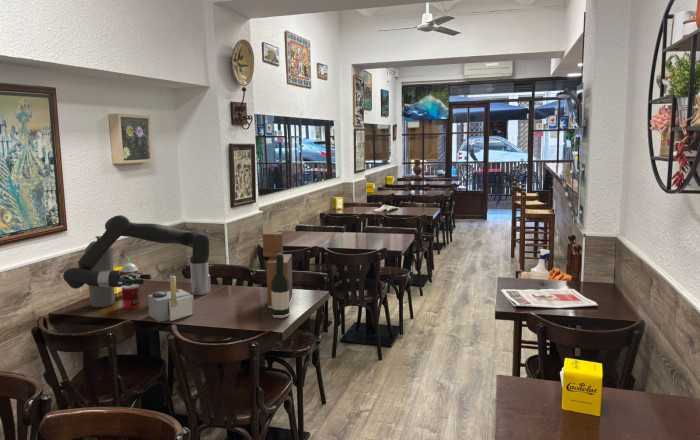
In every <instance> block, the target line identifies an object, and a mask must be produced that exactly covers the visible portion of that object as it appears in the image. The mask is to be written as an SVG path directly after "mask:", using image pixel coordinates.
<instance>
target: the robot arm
mask: <svg viewBox="0 0 700 440" xmlns="http://www.w3.org/2000/svg"><path fill="white" fill-rule="evenodd" d="M104 228H105V231H104V233H102V235H100V236H101V237H100V238H99V239H98V240H97V239H96V240H95V241H96V242H95V243H94V244H93V245H92V246H91V247H90V248H89V249H88V250H87V251H86V252H85V251H84V253H83V255H82V256H81V257H80V258H79V260H78V262H77V265H78V267H71V268H68V269H66V270H65V271H64V272H63V275H62V277H63V280H64V281H65V282H66V283H67V284H68V286H69V287H70V288H72V289H74V290H75V289H81V288H82V287H83V286H84V285H86V286H88V287H89V286H101V287H114V288H122V286H132V285H135V284H138V285H143V284H144V283H145V281H144V280H151V279H152V274H150V273H149V274H146V273H145V274H144V273H143V272H138V273H129V274H127V275H125V274H124V273H123V271H121V270H114V271H113V270H106V271H92V269H93V268H94V267H95V265H96V264H97V263H98V262H99V260H100V259H101V258H102V257H103V255H104V254H105V253H106V251H107V250H108V249H109V248H110V247H111V246H113V245H114V243H116V241H117V240H118V239H119V238H121V237H126V238H135V239H139V240H144V241H147V242H148V241H149V242H153V243H160V244H167V245H169V244H175V245H177V244H178V245H182V246H185V247H189V248H192V255H191V257H189V258H190V259H189V260H190V262H189V263H190V264H189V265H190V284H191V285H190V287H191V291H190V292H191V295H193V296H203V295H207V294H209V293H211V291H212V289H211V287H212V286H211V274H209V273H210V271H209V257H210V239H209V236H208V235H207V234H206V233H202V232H199V231H190V230H189V231H188V230H183V229H182V230H181V229H177V228H175V227H172V226H168V225H164V224H159V223H147V222H146V223H143V222H142V223H139V222H138V223H137V222H131V221H130V220H129V219H128V217H127V216H125V215H121V214H120V215H115V216H112V217H111V218H109V219H108V220H107V221H105V224H104Z"/></svg>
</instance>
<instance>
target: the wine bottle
mask: <svg viewBox="0 0 700 440" xmlns="http://www.w3.org/2000/svg"><path fill="white" fill-rule="evenodd" d="M271 297H272V308H271V315H272V314H273V315H285V314H288V313H289V314H290V305H289V280H288V279H287V277H286V276H285V274H284V257H283V255H282V253H278V254H277V256H276V275H275V277H274V278H273V280H272V282H271Z"/></svg>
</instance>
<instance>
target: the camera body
mask: <svg viewBox="0 0 700 440" xmlns="http://www.w3.org/2000/svg"><path fill="white" fill-rule="evenodd" d="M190 295H192V293H190V292H188V291H185V290H183V289H181V288H180V289H179V288H176V296H177V299H179V298H182V297H186V296H190ZM170 300H171V290H169V291H164V290H163V291H162V290H160V291H155V292H153V293H151V294H149V295H147V303H148V304H147V305H148V316H149V317H150V318H152V319H154V320H155V321H157V322H158V323H160V321H161V322H165V321H168V320H169V321H170V308H169V301H170Z"/></svg>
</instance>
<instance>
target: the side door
mask: <svg viewBox="0 0 700 440" xmlns="http://www.w3.org/2000/svg"><path fill="white" fill-rule="evenodd" d="M169 281H170V291H171V300H170V301H169V308H170V319H169V321H171V322H172V321H176V320H179V319H182V318H185V317H188V316H192V315H195V309H194V308H195V307H194V294H191V295H190V296H186V297H182V298H179V299H177V296H176V289H177V278H176V275H170V277H169Z"/></svg>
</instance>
